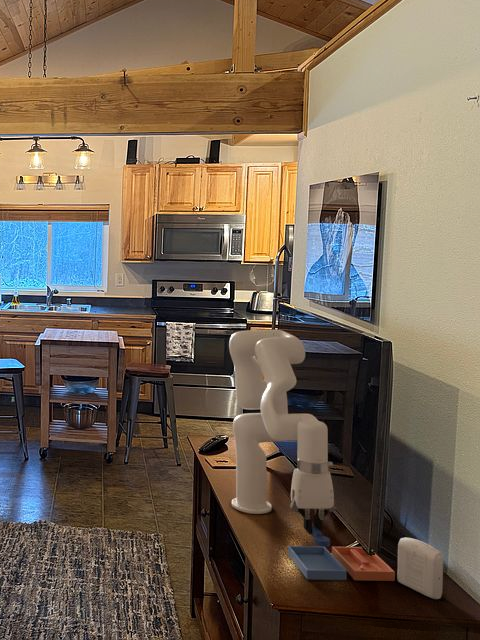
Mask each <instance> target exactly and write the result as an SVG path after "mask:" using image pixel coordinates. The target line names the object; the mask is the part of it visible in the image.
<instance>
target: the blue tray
mask: <svg viewBox="0 0 480 640" xmlns="http://www.w3.org/2000/svg"><path fill="white" fill-rule="evenodd" d="M287 556H289V558H290V559H291V560H292V563H294V564H295V566H296V567H297V568H298V569H299V571H300V572H301V574H302V575H303V576H304V577H305V579H306V580H317V581H319V580H321V581H347V578H348V575H347V574H348V572H347V571H346V570H345V569H344V567H343V566H342V565H341V564H340V563H339V562H338V561H337V560H336V559H335V558H334V556H333V555H332V552H330V551H329V550H328V549H327V547H322V546H318V545H312V546H311V545H287Z"/></svg>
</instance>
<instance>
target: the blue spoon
mask: <svg viewBox="0 0 480 640" xmlns="http://www.w3.org/2000/svg"><path fill="white" fill-rule="evenodd" d="M310 536H311V537H312V538H313V543H314V544H315V546H322V547H325V548H327V547H330V545H331V539H330V538H329V537H327V536H325V535H323V533H322V531H321V532H320V531H319V530H318V529H317V528H316V527H315V525H314V524H313V522H312V534H310Z"/></svg>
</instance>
